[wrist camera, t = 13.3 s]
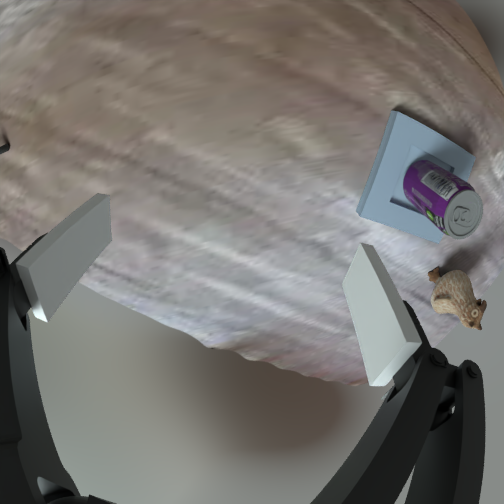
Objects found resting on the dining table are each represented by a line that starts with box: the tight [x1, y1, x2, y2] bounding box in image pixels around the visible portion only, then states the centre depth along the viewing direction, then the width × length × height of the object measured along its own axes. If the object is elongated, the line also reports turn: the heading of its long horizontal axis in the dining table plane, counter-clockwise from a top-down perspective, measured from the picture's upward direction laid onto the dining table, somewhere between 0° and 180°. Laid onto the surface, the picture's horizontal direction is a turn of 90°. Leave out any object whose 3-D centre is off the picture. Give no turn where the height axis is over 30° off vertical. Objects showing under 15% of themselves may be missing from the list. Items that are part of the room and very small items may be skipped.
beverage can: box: [403, 160, 483, 239], centre depth 29 cm, size 7×7×12 cm
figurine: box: [428, 267, 487, 330], centre depth 38 cm, size 9×10×15 cm
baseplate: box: [356, 110, 476, 244], centre depth 35 cm, size 16×16×2 cm
